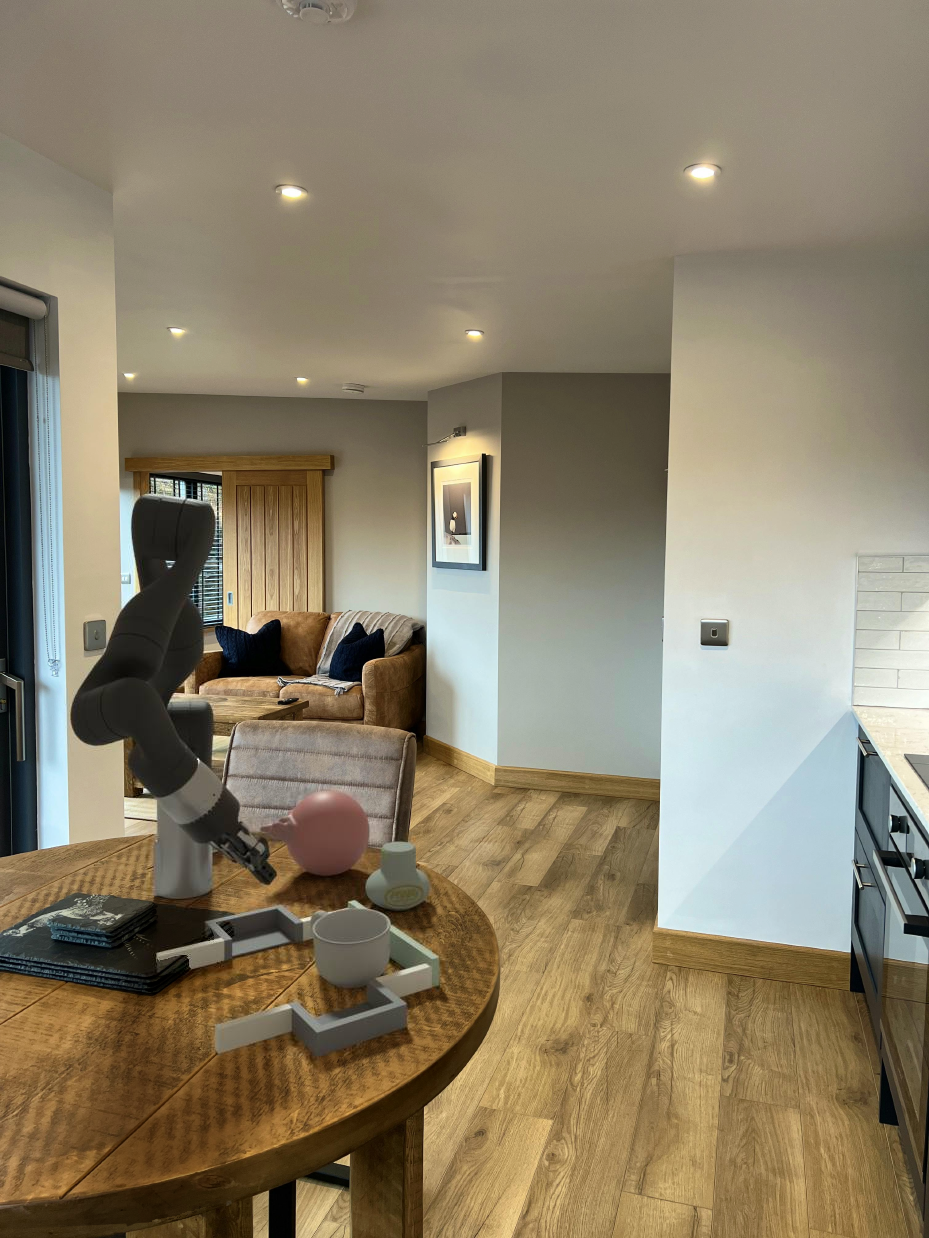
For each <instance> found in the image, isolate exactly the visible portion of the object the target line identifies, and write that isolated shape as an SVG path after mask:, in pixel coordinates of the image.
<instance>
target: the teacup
mask: <svg viewBox="0 0 929 1238" xmlns="http://www.w3.org/2000/svg"><path fill="white" fill-rule="evenodd" d="M343 909H344V910H341V909H338V910H339V911H337V910H335V911H336V912H333V911H331V912H332V913H329V914H328V912H327V911H325V910H322V909H321V910H317V911H315V912H313V914H312V915H311V916H310V917H311V929H312V932H313V935H314V938H313V951H314V954H313V955H314V961H315V962H314V963H315V967H316V970H317V972H318V973H319V975H320V976H321V977H322V978H323V979H324V980H325V981H327V982H329V983H330V984H332V985H333V986H335V987H339V988H342V989H343V988H344V989H356V988H357V989H358V988H363V987H366V986H367V980H371V979H374V978H377V977H381V975H382V974H383V973H384V972H385V971H386V969H387V967H388V965H389V961H390V958H391V957H390V927H391V925H392V924H391V920H390V918H389V917H388V916H387V914H384V913H382V912H380V911H378V910H374V909H370V908H367V909H363V908H353V909H345V908H343Z"/></svg>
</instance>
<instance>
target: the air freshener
mask: <svg viewBox="0 0 929 1238" xmlns="http://www.w3.org/2000/svg"><path fill="white" fill-rule="evenodd" d="M416 852H417V848H416V846H415V845H414V844H413V843H411V842H408V841H407V842H406V841H391V842H386V843H384V844H383V845H382V846H381V847H380V868H378V869H377V870H375V871H374V872H373V873H372V874H371V875H369V876H368V879H367V880H366V882H365V893H366V896H367V897H368V899H369V900H370V901H371V902H372V903H373V904H375V905H377V906H378V907H380V908H383V909H387V910H390V911H394V912H396V911H397V912H403V911H408V910H411V909H412V908H414V907H417V906H418V905H420V904H422V903H423V902H424V901H425V900H426V899H427V898H428V896H429V894H430V891H431V882H430V881H429V878H428V877H427V875H426V874H425V873H424V872H423V871H422V870H420V869H418V868H417V867H416V866H417V865H416V860H417V859H416V858H417V856H416Z"/></svg>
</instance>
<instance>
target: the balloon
mask: <svg viewBox="0 0 929 1238" xmlns="http://www.w3.org/2000/svg"><path fill="white" fill-rule="evenodd" d="M259 830H260V832H261V833H268V835H269V836H270V837H271V839H272V840H274V841H278V840H281V841H283V842H284V843H285V844H286V847H287V850H288V852H289V854H290V856H291V858H292V859H293V861H294V862H295V863H296V865H298V866H299V867H300V868H301V869H303V870H305V871H306V872H308V873H310V874H312V875H316V876H322V877H328V876H329V877H330V876H337V875H339V874H343V873H345V872H347V871H348V870H350V869H351V868H353V867H354V866H355V865H356V864H357V863H358V862H359V861H360V860H361V859H362V857H363V856H364V854H365V852H366V850H367V848H368V845H369V841H370V833H371V832H370V824H369V819H368V816H367V813H366V812H365V810H364V808H363V807H362V805H361V804H360V803H359V802H358V801H357V800H356V799H354V798H353V797H352V796H350V795H348V794H346V793H344V792H342V791H337V790H331V789H330V790H329V789H328V790H320V791H317V792H313V793H311V794H309V795H307V796H305V797H304V798H303V799H302V800H300V801H299V802H298V803H297V804H296V805H295V806H294V807H293V808H292V809H291V810H289V812H288V813H287V814H286V815H285V816H282V817H280V819H278V820H276V821H273V822H272V823H267V824H266V825H261V826H260V828H259Z"/></svg>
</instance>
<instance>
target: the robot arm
mask: <svg viewBox="0 0 929 1238" xmlns="http://www.w3.org/2000/svg"><path fill="white" fill-rule="evenodd" d="M130 520H131V522H130V533H131V543H132V550H133V556H134V562H135V567H136V568H135V569H136V573H137V579H138V584H139V586H138V587H139V592H138V593H136V594H135V595H134V596H132V597H131V598H130V599H129V600H128V602H126V603H125V605H124V606H123V608H122V609H121V611H120V612H119V614H118V616H117V617H116V620H115V623H114V626H113V629H112V631H111V634H110V636H109V640H108V642H107V644H106V647H105V650H104V653H103V654H102V655H101V657H100V658H98V660H97V661H96V663H95V664H94V665H93V667H92V669H91V670H90V671H89V672H88V674H87V676H86V678H85V679H84V680H83V681H82V684H81V685H80V686H79V688H78V690H77V691H76V693H75V696H74V697H73V699H72V703H71V707H70V724H71V729H72V730H73V733H74V735H75V736H76V737H77V739H78V740H80V741H81V742H83V743H84V744H85V745H89V746H94V747H98V746H99V747H100V746H106V745H110V744H113V743H116V742H120V741H123V740H127V739H129V738H131V739H133V740H134V741H135V743H136V744H135V746H134V747H133V748H132V749H131V751H130V752H129V755H128V758H127V767H128V769H129V771H130V772H131V774H132V775H133V776H134V777H135V779H136V780H137V781H138V782H139V783H140V784H141V785H142V786H143V787H144V789H146V791H148V792H149V793H150V795H151V796H152V797H154V799H155V800H156V838H155V840H154V841H153V896H154V897H163V898H166V899H171V900H172V899H173V900H182V899H192V898H196V897H197V898H198V897H200V896H204V895H205V894H207V893H209V892H210V891H211V890H212V889H213V853H212V847H213V848H215V849H216V850H218V852H219V853H220V854H222V855H223V856H224V857H225V858H227V859H228V860H230V862H231V863H233V864H237V863H238V864H239V865H240V866H241V868H243V869H247V870H248V871H249V872H250V874H252V876H254V877H255V879H256V880H257V881H258V882H259V883H260V884H262V885H265V886H270V885H271V884H272V883H273V881H274V880H275V879H276V877H277V875H278V872H277V870H275V868H273V866H272V865H271V864H270V863H269V861H268V860H269V858H270V857H271V851H270V846H269V841H268V840H267V839H266V838H265V837H263V836H260V837H259V838H257V839H256V838H255V837H254V835H253V834H252V833H251V831H250V827H248V825H247V824H246V823H245V822H244V821H242V820H239V815H240V812H241V805H240V802H239V800H238V799H237V797H236V796H235V795H234V793H232V792H231V790H229V789H228V788H227V786H226V785H225V784H224V783H223V782H222V780H220V778H219V777H218V776H217V775H216V774H215V772H213V768H212V767H213V762H212V761H213V747H214V746H213V745H214V728H215V727H214V725H215V722H214V720H215V719H214V711H213V707H212V706H211V704H210V702H208V701H205V700H184V701H183V700H182V701H181V700H180V701H171V699H172V698H173V696H174V694H175V693H176V691H177V690H178V689H179V688H180V687H181V686H182V685H183V684H184V683H185V682H186V681H187V679H189V677H190V676H191V675H192V674H193V673H194V672H195V671H196V669H197V668H198V666H199V665H200V663H201V660H202V659H203V656H204V651H205V638H204V637H205V632H204V631H205V625H204V619H203V616H202V614H201V612H200V610H199V608H198V607H197V605H196V603H194V601H193V600H192V599H191V597H190V595H191V592H192V591H193V589H194V587H195V586H196V584H197V581H198V579H199V577H200V575H201V573H202V571H203V570H204V568H205V565H206V562H208V561H207V560H208V559H209V556H210V554H211V551H212V548H213V545H214V542H215V541H214V540H215V537H216V526H217V525H216V514H215V510H214V508H213V506H212V505H211V504H210V503H208V502H206V501H203V500H200V499H194V498H186V497H179V496H172V495H168V494H167V495H166V494H160V493H145V494H142V495H140V496H139V497H138V498H137V500H135V503H134V504H133V508H132V513H131V518H130ZM167 561H168V562H174V563H173V564H172V566H171V567H170V568H169V566H168V564H167Z"/></svg>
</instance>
